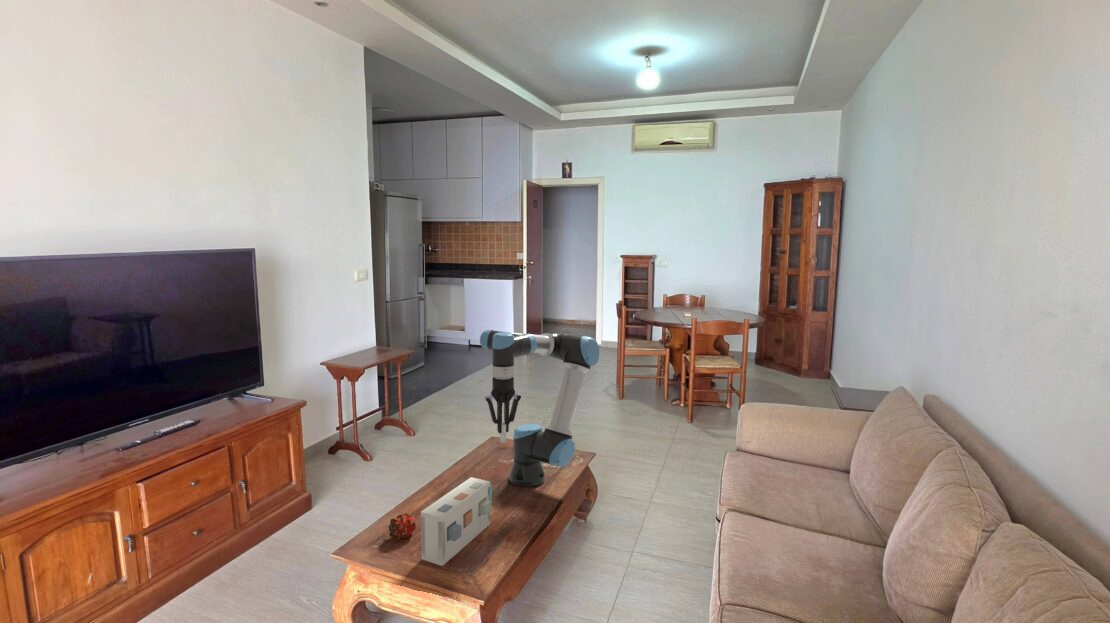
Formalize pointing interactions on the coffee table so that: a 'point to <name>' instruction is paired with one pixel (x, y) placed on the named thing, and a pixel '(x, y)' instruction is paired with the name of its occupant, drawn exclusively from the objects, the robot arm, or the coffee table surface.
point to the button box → (453, 520)
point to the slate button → (454, 531)
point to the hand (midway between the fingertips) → (503, 441)
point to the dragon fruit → (402, 526)
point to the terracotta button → (467, 518)
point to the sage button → (484, 507)
